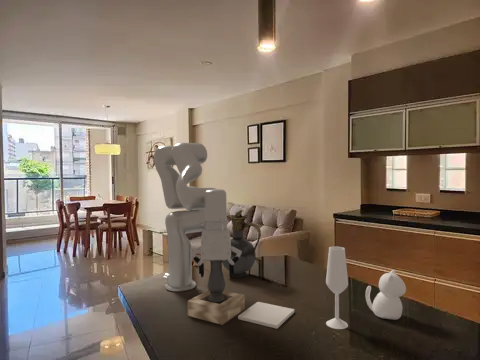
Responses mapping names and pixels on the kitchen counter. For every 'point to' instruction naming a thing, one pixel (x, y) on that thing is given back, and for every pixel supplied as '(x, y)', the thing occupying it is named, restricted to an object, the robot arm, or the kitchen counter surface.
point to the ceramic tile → (266, 314)
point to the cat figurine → (387, 296)
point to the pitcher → (242, 246)
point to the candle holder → (216, 283)
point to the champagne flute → (337, 281)
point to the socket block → (216, 307)
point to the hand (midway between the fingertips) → (216, 275)
